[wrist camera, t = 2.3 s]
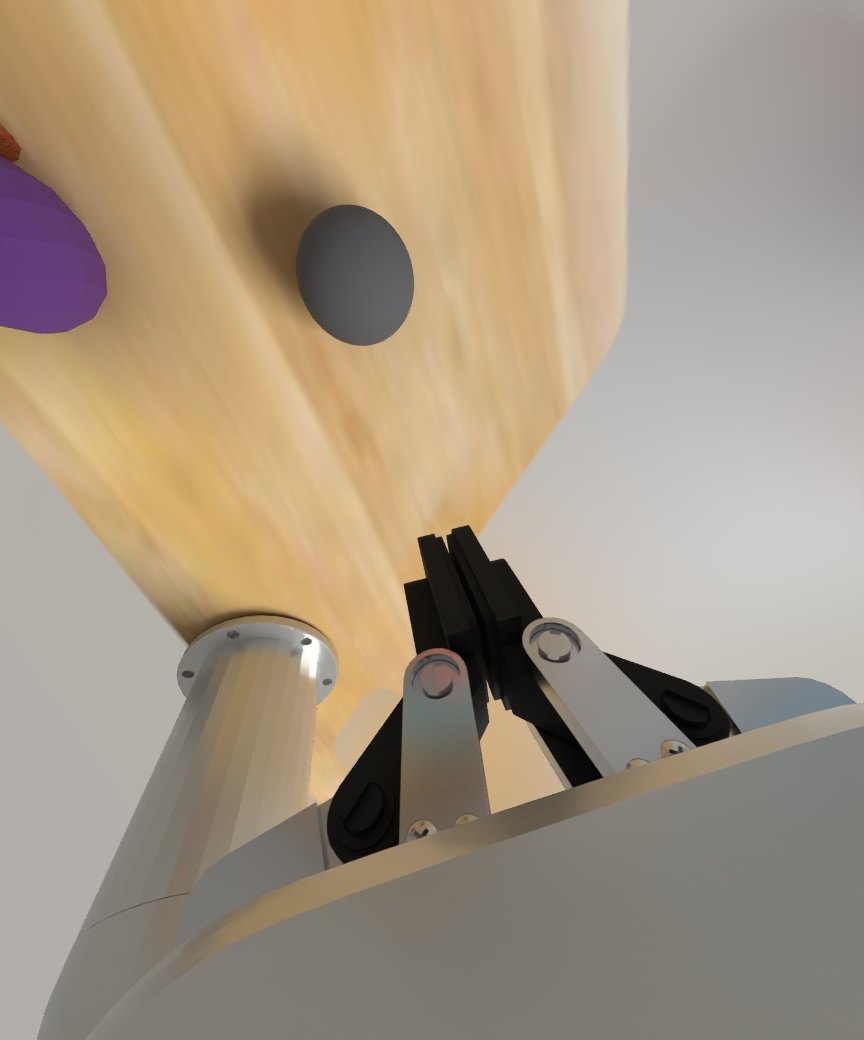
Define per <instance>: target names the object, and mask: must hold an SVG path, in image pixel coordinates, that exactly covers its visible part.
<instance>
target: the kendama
mask: <svg viewBox="0 0 864 1040" xmlns="http://www.w3.org/2000/svg"><path fill="white" fill-rule="evenodd" d="M20 150H21V148H20V147H19V146H18V144H17V143H16V141H15V140H14V139H13V137H12V136H11V135H10V134H9V133H8V132H7V131H6V129H5V128H4V127H3V126H2V125H1V124H0V326H3V327H9V328H14V329H19V330H24V331H29V332H34V333H45V334H47V333H60V332H66V331H69V330H71V329H73V328H75V327H77V326H79V325H81V324H83V323H85V322H87V321H89V320H91V319H92V318H93V317H94V316H95V315H96V313H97V311H98V309H99V308H100V306H101V304H102V302H103V300H104V299H105V297H106V295H107V287H106V270H105V264H104V262H103V260H102V258H101V256H100V254H99V252H98V250H97V248H96V246H95V244H94V242H93V240H92V238H91V236H90V234H89V232H88V231H87V229H86V228H85V226H84V225H83V223H82V222H81V221H80V220H79V219H78V218H77V217H76V216H75V214H74V213H73V212H72V211H71V210H70V209H69V208H68V207H67V206H66V204H65V203H64V202H63V201H62V200H61V199H60V198H59V197H58V196H57V195H56V193H55V192H54V191H53V190H52V189H51V188H49V187H48V186H46V185H45V184H43V183H42V182H40V181H39V180H37V179H36V178H34V177H33V176H31V175H30V174H28V173H27V172H25V171H24V170H22V169H21V168H19V167H18V166H16V165H15V164H13V163H12V162H14V161H16V160H18V159H19V155H20Z"/></svg>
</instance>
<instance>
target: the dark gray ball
mask: <svg viewBox="0 0 864 1040" xmlns="http://www.w3.org/2000/svg"><path fill="white" fill-rule="evenodd" d="M296 273H297V281H298V285H299V289H300V293H301V296H302V298H303V301H304V303H305V305H306V307H307V309H308V311H309V312H310V314H311V315H312V317H313V318H314V319H315V321H316V322H317V323H318V324H319V325H320V326H321V327H322V328H323V329H324V330H325V331H326V332H327V333H329V334H330V335H331V336H333V337H335V338H336V339H338V340H340V341H342V342H345V343H348V344H352V345H359V346H366V345H373V344H376V343H379V342H382V341H384V340H386V339H387V338H389V337H390V336H391V335H393V334H394V333H395V332H396V331H397V330H398V329H399V328H400V326H401V325H402V324H403V322H404V321H405V319H406V317H407V315H408V313H409V310H410V307H411V304H412V299H413V292H414V276H413V269H412V264H411V260H410V257H409V254H408V251H407V249H406V247H405V245H404V243H403V241H402V239H401V238H400V236H399V235H398V233H397V232H396V231H395V229H394V228H393V227H392V226H391V225H390V224H389V223H388V222H387V221H386V220H385V219H384V218H383V217H381V216H380V215H378V214H377V213H375V212H374V211H372V210H369V209H367V208H365V207H361V206H357V205H339V206H335V207H332V208H329V209H327V210H325V211H323V212H322V213H320V214H319V215H318V216H317V217H316V218H315V219H314V220H313V221H312V222H311V223H310V224H309V226H308V227H307V229H306V230H305V232H304V234H303V236H302V239H301V241H300V244H299V248H298V252H297V260H296Z"/></svg>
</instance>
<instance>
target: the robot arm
mask: <svg viewBox="0 0 864 1040" xmlns="http://www.w3.org/2000/svg"><path fill="white" fill-rule="evenodd" d="M446 537H447V543H448V549H449V553H448V550H447V548H446V545H445V543H444V541H443V538H442V537H437V538H436V537H435V535H434V534H430V535H426V536H422V537H418V538H417V539H418V544H419V548H420V552H421V557H422V561H423V566H424V570H425V575H426V578H425V579H421V580H417V581H413V582H409V583H405V584H404V589H405V595H406V600H407V605H408V611H409V616H410V621H411V626H412V632H413V637H414V642H415V648H416V653H417V656H416V657H415V658H414V659H413V660H412V661H411V662H410V663H409V665H408V667H407V669H406V671H405V675H404V685H403V697H402V699H401V700H400V702H399V703H398V704H397V706H396V707H395V709H394V710H393V712H392V713H391V714H390V716H389V717H388V719H387V720H386V721H385V723H384V724H383V726H382V727H381V728H380V730H379V731H378V733H377V734H376V735H375V737H374V738H373V740H372V741H371V743H370V744H369V745H368V747H367V748H366V750H365V751H364V752H363V754H362V755H361V757H360V758H359V759H358V761H357V762H356V764H355V765H354V767H353V768H352V769H351V771H350V772H349V774H348V775H347V776H346V778H345V779H344V781H343V782H342V783H341V785H340V786H339V788H338V790H337V791H336V793H335V795H334V797H333V798H331V799H329V800H328V801H326V802H324V803H323V804H321V805H319V806H318V804H317V803H316V802H315V803H314V804H312V805H310V806H309V807H307V803H308V793H309V782H310V772H311V762H312V751H313V743H314V730H315V720H316V710H317V705H318V704H319V703H320V702H322V701H323V700H324V699H325V698H326V697H327V696H328V694H329V693H330V692H331V690H332V689H333V687H334V685H335V683H336V679H337V676H338V658H337V653H336V651H335V649H334V647H333V645H332V644H331V643H330V641H329V640H328V639H327V638H326V637H325V636H324V635H323V634H321V633H320V632H319V631H318V630H316V629H314V628H313V627H311V626H309V625H307V624H305V623H302V622H299V621H296V620H293V619H289V618H284V617H278V616H263V615H258V616H247V617H240V618H236V619H232V620H227V621H225V622H222V623H220V624H217V625H215V626H213V627H211V628H209V629H208V630H206V631H204V632H203V633H201V634H200V635H199V636H198V637H197V638H195V639H194V640H193V641H192V642H191V644H190V645H189V647H188V648H187V650H186V651H185V653H184V655H183V657H182V659H181V661H180V663H179V666H178V671H177V677H178V684H179V687H180V689H181V691H182V693H183V694H184V696H185V697H186V698H187V699H186V701H185V703H184V706H183V708H182V710H181V712H180V714H179V716H178V718H177V721H176V723H175V725H174V727H173V729H172V732H171V734H170V736H169V738H168V740H167V743H166V745H165V747H164V749H163V751H162V753H161V756H160V758H159V760H158V762H157V764H156V766H155V769H154V771H153V773H152V775H151V777H150V779H149V782H148V784H147V786H146V788H145V790H144V793H143V795H142V797H141V799H140V801H139V803H138V806H137V808H136V810H135V812H134V814H133V816H132V819H131V821H130V823H129V825H128V827H127V830H126V832H125V834H124V836H123V838H122V841H121V843H120V845H119V847H118V849H117V851H116V854H115V856H114V858H113V860H112V862H111V864H110V867H109V869H108V871H107V873H106V875H105V878H104V880H103V882H102V884H101V886H100V888H99V891H98V893H97V895H96V897H95V899H94V901H93V904H92V906H91V908H90V910H89V912H88V915H87V917H86V919H85V921H84V923H83V925H82V928H81V930H80V932H79V934H78V936H77V938H76V941H75V943H74V945H73V947H72V949H71V951H70V954H69V956H68V958H67V960H66V962H65V964H64V967H63V969H62V971H61V974H60V976H59V978H58V980H57V983H56V985H55V987H54V990H53V992H52V994H51V996H50V999H49V1002H48V1005H47V1007H46V1010H45V1013H44V1016H43V1020H42V1023H41V1027H40V1030H39V1033H38V1038H37V1040H864V703H859V704H857V703H856V702H854V701H853V700H852V699H850V698H849V697H848V696H847V695H845V694H844V693H842V692H841V691H839V690H837V689H835V688H833V687H831V686H829V685H827V684H825V683H822V682H818V681H816V680H813V679H808V678H798V677H795V678H773V679H753V680H735V681H714V682H706V684H705V686H704V687H698V686H696V685H694V684H692V683H690V682H688V681H685V680H682V679H680V678H676V677H674V676H671V675H668V674H665V673H662V672H659V671H657V670H654V669H651V668H648V667H645V666H642V665H639V664H637V663H634V662H631V661H628V660H625V659H622V658H620V657H617V656H614V655H611V654H608V653H605V652H602V651H601V650H600V649H599V648H598V647H597V646H596V645H595V644H594V643H593V642H592V641H591V640H590V639H589V638H588V637H587V636H586V635H585V634H584V633H583V632H582V631H581V630H580V629H579V628H578V627H576V626H575V625H574V624H572V623H570V622H568V621H566V620H563V619H559V618H543V617H542V615H541V614H540V612H539V611H538V609H537V608H536V606H535V604H534V603H533V602H532V600H531V598H530V597H529V595H528V594H527V592H526V591H525V589H524V588H523V586H522V585H521V583H520V581H519V580H518V578H517V577H516V575H515V574H514V572H513V571H512V570H511V568H510V566H509V565H508V563H507V562H506V560H505V559H503V558H502V559H498V560H495V561H489V559H488V558H487V555H486V554H485V552H484V550H483V548H482V547H481V545H480V543H479V542H478V540H477V538H476V536H475V535H474V533H473V531H472V530H471V528H470V526H469V525H467V526H463V527H459V528H455V529H452V534H449V535H447V536H446ZM486 680H487V682H488V685H489V688H490V690H491V693H492V696H493V698H494V700H498V699H501V700H502V702H503V705H504V707H505V710H510V709H511V710H512V712H513V714H514V715H516V716H518V717H520V718H522V719H524V720H526V723H527V725H528V727H529V730H530V731H531V733H532V735H533V736H534V738H535V740H536V741H537V743H538V745H539V746H540V748H541V750H542V751H543V753H544V755H545V756H546V758H547V760H548V761H549V763H550V765H551V766H552V768H553V770H554V771H555V773H556V775H557V776H558V778H559V780H560V781H561V783H562V785H563V786H564V788H565V791H562V792H558V793H556V794H552V795H550V796H547V797H543V798H540V799H537V800H534V801H531V802H528V803H525V804H522V805H519V806H516V807H513V808H510V809H506V810H504V811H500V812H497V813H494V814H491V811H490V804H489V798H488V791H487V785H486V778H485V773H484V766H483V759H482V753H481V747H480V740H481V737H482V735H483V734H484V731H485V729H486V727H487V725H488V723H489V716H488V709H487V703H488V702H489V697H488V689H487V683H486Z"/></svg>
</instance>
